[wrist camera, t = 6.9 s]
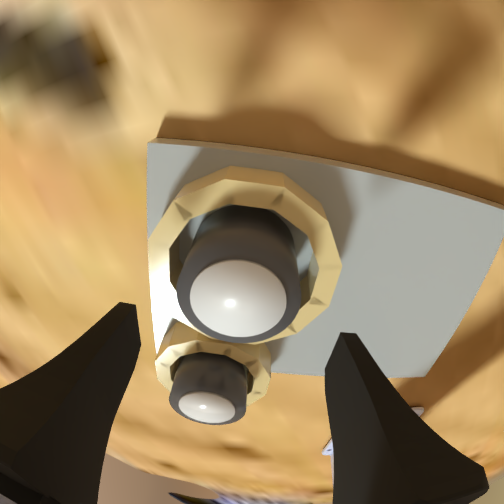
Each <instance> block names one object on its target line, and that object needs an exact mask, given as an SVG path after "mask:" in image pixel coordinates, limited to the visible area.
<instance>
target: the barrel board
mask: <svg viewBox="0 0 504 504" xmlns="http://www.w3.org/2000/svg"><path fill="white" fill-rule="evenodd" d="M230 205H242V206H250V207H257V208H264V209H267V210H269V211H271V212H272V213H274V214H276V215H277V216H278V217H279V218H280V219H281V220H282V221H283V222H284V223H285V224H286V225H287V227H288V228H289V230H290V232H291V234H292V237H293V240H294V245H295V252H296V259H297V266H298V273H299V280H300V287H301V305H300V309H299V312H298V314H297V316H296V317H295V319H294V320H293V322H292V323H291V324H290V325H289V326H288V327H287V328H286V329H285V330H283V331H282V332H280V333H279V334H277V335H275V336H273V337H271V338H269V339H266V340H263V341H258V342H253V343H232V342H226V341H222V340H218V339H216V338H213V337H211V336H209V335H206V334H205V333H203V332H201V331H200V330H198V329H197V328H196V327H194V326H193V325H192V324H191V323H190V322H189V321H188V319H187V318H186V317H185V316H184V314H183V313H182V311H181V309H180V307H179V304H178V300H177V295H176V286H177V281H178V278H179V275H180V273H181V270H182V268H183V265H184V263H185V260H186V258H187V255H188V252H189V250H190V247H191V245H192V243H193V240H194V238H195V235H196V233H197V230H198V228H199V227H200V225H201V223H202V222H203V221H204V220H205V219H206V218H207V217H208V216H209V215H210V214H212V213H213V212H215V211H217V210H219V209H221V208H223V207H226V206H230ZM147 232H148V240H147V241H148V263H149V280H150V290H151V303H152V315H153V326H154V335H155V345H156V353H157V356H156V359H155V365H156V372H157V379H158V380H159V381H160V382H161V383H162V385H163V386H164V387H165V388H166V389H167V390H168V391H169V392H170V396H169V402H170V405H171V406H172V408H173V409H174V410H175V411H176V412H177V413H179V414H180V415H182V416H183V417H185V418H187V419H190V420H192V421H195V422H199V423H203V424H210V425H223V424H229V423H233V422H236V421H238V420H239V419H241V418H242V417H243V416H244V415H245V412H246V406H249V405H251V404H252V403H254V402H255V401H257V400H258V399H260V398H262V397H263V396H265V395H266V392H267V388H268V385H269V382H270V378H271V372H274V373H286V374H298V375H313V376H325V367H326V364H327V362H328V360H329V358H330V355H331V353H332V351H333V348H334V346H335V344H336V341H337V339H338V337H339V334H340V332H347V333H356V334H357V335H358V336H359V338H360V339H361V341H362V342H363V344H364V345H365V347H366V348H367V350H368V351H369V353H370V354H371V356H372V357H373V359H374V360H375V362H376V363H377V365H378V366H379V367H380V369H381V370H382V372H383V373H384V374H385V376H386V377H387V378H401V377H425V376H426V374H427V373H428V371H429V370H430V369H431V367H432V366H433V364H434V363H435V361H436V360H437V358H438V357H439V355H440V354H441V352H442V351H443V349H444V348H445V346H446V345H447V343H448V342H449V340H450V339H451V337H452V335H453V334H454V332H455V331H456V329H457V327H458V326H459V324H460V322H461V321H462V319H463V317H464V315H465V314H466V312H467V310H468V308H469V307H470V305H471V303H472V301H473V299H474V298H475V296H476V294H477V292H478V290H479V288H480V286H481V284H482V282H483V280H484V278H485V276H486V274H487V272H488V270H489V268H490V266H491V264H492V262H493V260H494V258H495V255H496V253H497V251H498V249H499V246H500V244H501V242H502V239H503V237H504V206H503V205H501V204H498V203H495V202H492V201H489V200H486V199H483V198H480V197H477V196H474V195H471V194H468V193H465V192H461V191H458V190H455V189H451V188H448V187H444V186H441V185H437V184H434V183H430V182H426V181H423V180H419V179H415V178H411V177H407V176H403V175H399V174H395V173H391V172H387V171H383V170H378V169H374V168H370V167H365V166H360V165H356V164H351V163H346V162H341V161H336V160H331V159H325V158H320V157H314V156H309V155H303V154H297V153H291V152H284V151H278V150H271V149H264V148H257V147H249V146H241V145H233V144H224V143H215V142H205V141H194V140H182V139H168V138H155V139H153V140H151V141H150V142H148V149H147Z"/></svg>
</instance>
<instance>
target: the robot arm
mask: <svg viewBox="0 0 504 504" xmlns="http://www.w3.org/2000/svg"><path fill="white" fill-rule="evenodd" d="M140 347H141V340H140V333H139V326H138V319H137V311H136V305H134V304H128V303H123V302H119V303H118V304H117V305H116V306H115V307H114V308H112V309H111V310H110V311H109V312H108V313H107V314H106V315H105V316H104V317H102V318H101V319H100V320H99V321H98V322H97V323H96V324H95V325H94V326H92V327H91V328H90V329H89V330H88V331H87V332H85V333H84V334H83V335H82V336H81V337H80V338H79V339H77V340H76V341H75V342H74V343H72V344H71V345H70V346H69V347H67V348H66V349H65V350H64V351H62V352H61V353H60V354H58V355H57V356H56V357H54V358H53V359H52V360H50V361H49V362H47V363H46V364H44V365H43V366H41V367H40V368H38V369H37V370H35V371H33V372H31V373H30V374H28V375H26V376H24V377H22V378H21V379H19V380H17V381H15V382H13V383H11V384H9V385H7V386H5V387H3V388H1V389H0V504H97V501H98V491H99V484H100V477H101V472H102V466H103V461H104V456H105V452H106V447H107V443H108V439H109V435H110V431H111V427H112V424H113V421H114V418H115V415H116V413H117V410H118V408H119V405H120V403H121V400H122V398H123V395H124V393H125V391H126V388H127V386H128V383H129V381H130V378H131V376H132V374H133V371H134V369H135V365H136V362H137V358H138V355H139V351H140ZM325 396H326V403H327V409H328V416H329V423H330V429H331V436H332V439H331V440H330V441H329V443H328V444H327V445H326V447H325V448H324V449H323V450H322V454H323V455H330V456H331V467H332V479H333V504H469V503H470V502H472V501H473V500H475V499H477V498H479V497H480V496H482V495H483V494H485V493H486V492H487V491H488V489H489V484H488V481H487V477H486V474H485V470H484V467H483V466H481V465H479V464H478V463H476V462H474V461H473V460H471V459H470V458H468V457H466V456H465V455H463V454H462V453H460V452H459V451H458V450H456V449H455V448H454V447H452V446H451V445H450V444H448V443H447V442H446V441H445V440H444V439H442V438H441V437H440V436H439V435H438V434H437V433H436V432H434V431H433V430H432V429H431V428H430V427H429V426H428V425H427V424H426V423H425V422H424V421H423V420H422V419H421V418H420V417H419V416H420V415H421V414H422V413H423V412H424V408H423V407H412V408H411V407H410V406H409V405H408V404H407V403H406V402H405V401H404V399H403V398H402V397H401V396H400V394H399V393H398V392H397V391H396V389H395V388H394V387H393V385H392V384H391V383H390V381H389V380H388V379H387V377H386V376H385V374H384V373H383V372H382V370H381V369H380V367H379V366H378V365H377V363H376V362H375V360H374V359H373V357H372V356H371V354H370V353H369V351H368V350H367V348H366V347H365V345H364V344H363V342H362V341H361V339H360V338H359V336H358V335H357V334H356V333H347V332H340V334H339V337H338V339H337V341H336V344H335V346H334V348H333V351H332V353H331V355H330V358H329V360H328V362H327V364H326V367H325Z"/></svg>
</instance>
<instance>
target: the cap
mask: <svg viewBox="0 0 504 504" xmlns="http://www.w3.org/2000/svg"><path fill="white" fill-rule="evenodd" d="M176 295H177V300H178V304H179V307H180V309H181V311H182V313H183V314H184V316H185V317H186V318H187V319H188V321H189V322H190V323H191V324H192V325H193V326H194V327H196V328H197V329H198V330H200V331H201V332H203V333H205V334H206V335H209V336H211V337H213V338H216V339H218V340H222V341H226V342H232V343H253V342H258V341H263V340H266V339H269V338H271V337H273V336H275V335H277V334H279V333H280V332H282V331H283V330H285V329H286V328H287V327H288V326H289V325H290V324H291V323H292V322H293V320H294V319H295V317H296V316H297V314H298V312H299V309H300V305H301V287H300V280H299V273H298V266H297V259H296V252H295V245H294V240H293V237H292V234H291V232H290V230H289V228H288V227H287V225H286V224H285V223H284V222H283V221H282V220H281V219H280V218H279V217H278V216H277V215H276V214H274V213H272V212H271V211H269V210H267V209H264V208H257V207H250V206H242V205H230V206H226V207H223V208H221V209H219V210H217V211H215V212H213V213H212V214H210V215H209V216H208V217H207V218H206V219H205V220H204V221H203V222H202V223H201V225H200V227H199V228H198V230H197V233H196V235H195V238H194V240H193V243H192V245H191V247H190V250H189V252H188V255H187V258H186V260H185V263H184V265H183V268H182V270H181V273H180V275H179V278H178V281H177V286H176Z"/></svg>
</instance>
